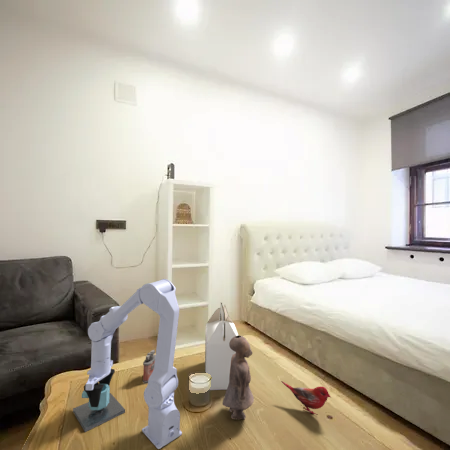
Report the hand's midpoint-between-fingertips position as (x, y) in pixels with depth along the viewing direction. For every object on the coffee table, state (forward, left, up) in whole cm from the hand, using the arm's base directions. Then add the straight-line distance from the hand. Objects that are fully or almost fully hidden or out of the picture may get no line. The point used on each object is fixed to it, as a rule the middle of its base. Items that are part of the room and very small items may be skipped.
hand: (99, 399), depth 84 cm
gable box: (-11, -45, -4) cm, 47 cm away
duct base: (0, 0, -4) cm, 4 cm away
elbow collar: (+1, +1, -1) cm, 2 cm away
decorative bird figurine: (-46, -50, -4) cm, 68 cm away
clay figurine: (-32, -32, -4) cm, 45 cm away
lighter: (+7, -22, -4) cm, 23 cm away
